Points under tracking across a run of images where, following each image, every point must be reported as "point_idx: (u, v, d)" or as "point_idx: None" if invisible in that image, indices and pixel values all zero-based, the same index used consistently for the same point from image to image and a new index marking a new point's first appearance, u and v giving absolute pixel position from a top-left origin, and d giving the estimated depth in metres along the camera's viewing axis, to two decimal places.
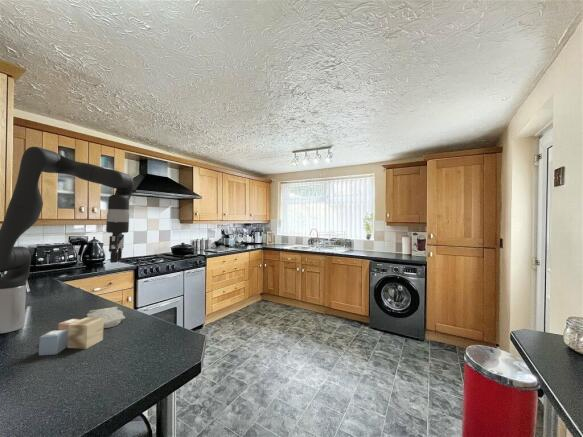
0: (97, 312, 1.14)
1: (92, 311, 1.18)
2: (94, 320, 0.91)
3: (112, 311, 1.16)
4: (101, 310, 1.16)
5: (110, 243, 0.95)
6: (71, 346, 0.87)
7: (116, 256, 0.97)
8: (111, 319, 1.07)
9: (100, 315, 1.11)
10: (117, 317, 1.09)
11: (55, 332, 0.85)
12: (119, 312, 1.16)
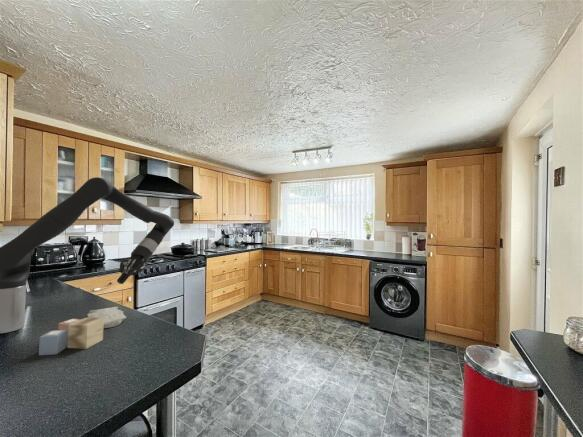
0: (98, 312, 1.14)
1: (92, 311, 1.18)
2: (94, 320, 0.91)
3: (113, 311, 1.16)
4: (102, 310, 1.16)
5: (137, 268, 1.06)
6: (71, 346, 0.87)
7: None
8: (112, 319, 1.07)
9: (101, 315, 1.11)
10: (118, 317, 1.09)
11: (55, 332, 0.85)
12: (120, 312, 1.17)
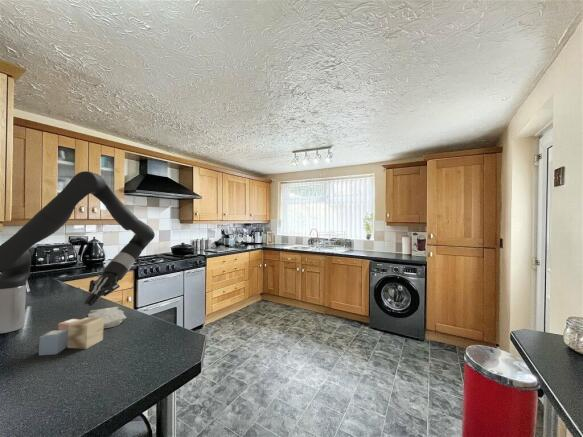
0: (98, 312, 1.14)
1: (93, 311, 1.18)
2: (94, 320, 0.91)
3: (113, 311, 1.16)
4: (102, 310, 1.16)
5: (108, 288, 0.94)
6: (71, 346, 0.87)
7: None
8: (112, 319, 1.07)
9: (101, 315, 1.11)
10: (118, 317, 1.09)
11: (55, 332, 0.85)
12: (120, 312, 1.17)
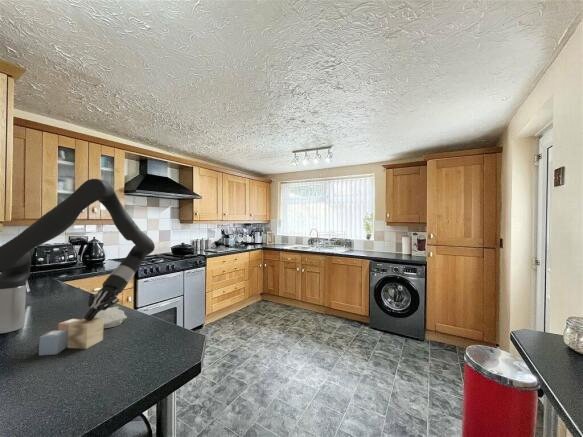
0: (98, 312, 1.14)
1: None
2: (94, 320, 0.91)
3: (113, 311, 1.16)
4: (102, 310, 1.16)
5: (108, 302, 0.93)
6: (71, 346, 0.87)
7: None
8: (113, 319, 1.07)
9: (102, 315, 1.11)
10: (119, 317, 1.09)
11: (55, 332, 0.85)
12: (121, 312, 1.17)
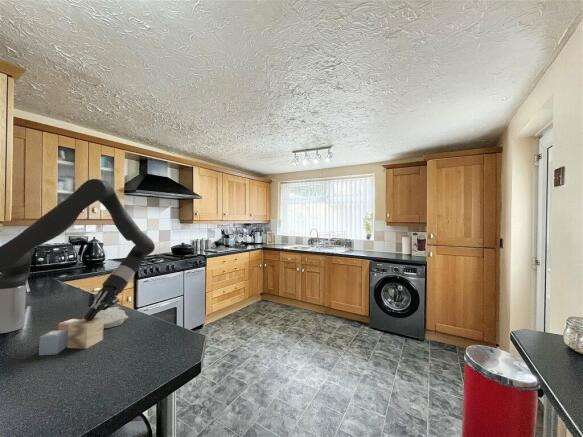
0: (99, 312, 1.15)
1: None
2: (94, 320, 0.91)
3: (114, 311, 1.16)
4: None
5: (108, 302, 0.93)
6: (71, 346, 0.87)
7: None
8: (114, 319, 1.07)
9: (103, 315, 1.11)
10: (120, 317, 1.10)
11: (55, 332, 0.85)
12: (121, 312, 1.17)
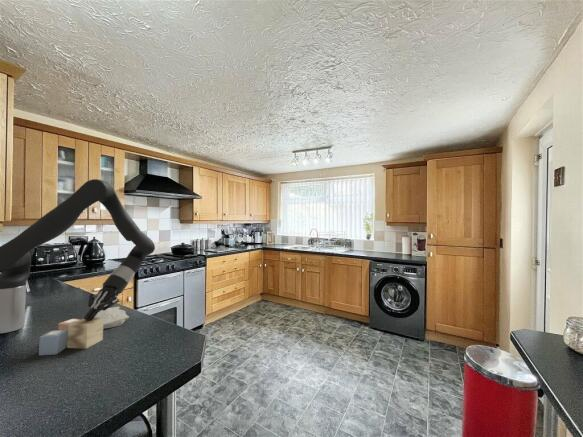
0: (100, 312, 1.15)
1: None
2: (94, 320, 0.91)
3: (115, 311, 1.16)
4: None
5: (108, 303, 0.93)
6: (71, 346, 0.87)
7: None
8: (115, 319, 1.07)
9: (104, 315, 1.11)
10: (121, 317, 1.10)
11: (55, 332, 0.85)
12: (122, 312, 1.17)
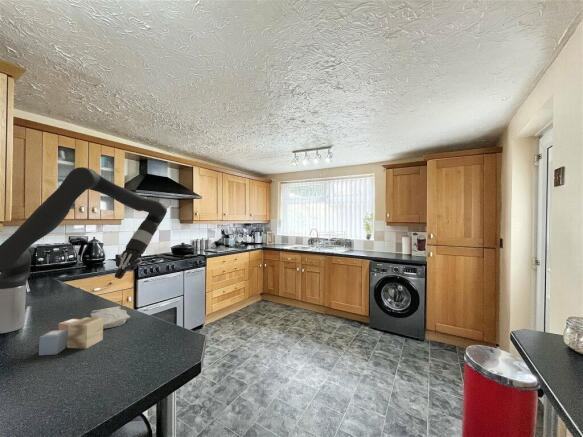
0: (101, 312, 1.15)
1: (95, 311, 1.18)
2: (94, 320, 0.91)
3: (116, 311, 1.16)
4: (105, 310, 1.17)
5: (134, 265, 1.06)
6: (71, 346, 0.87)
7: None
8: (117, 318, 1.08)
9: (105, 315, 1.11)
10: (122, 316, 1.10)
11: (55, 332, 0.85)
12: (123, 311, 1.17)
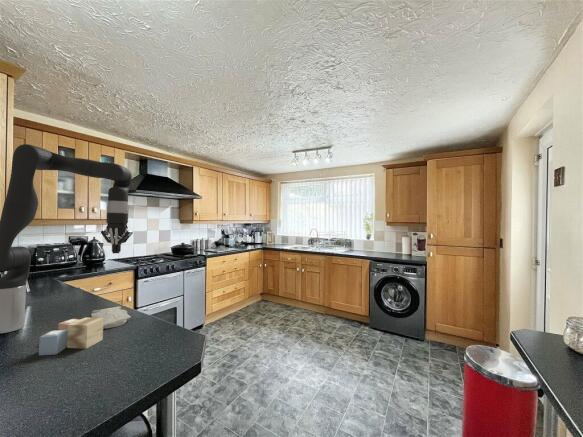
0: (101, 312, 1.15)
1: (96, 311, 1.18)
2: (94, 320, 0.91)
3: (117, 311, 1.16)
4: (105, 310, 1.17)
5: (125, 237, 1.04)
6: (71, 346, 0.87)
7: None
8: (117, 318, 1.08)
9: (105, 315, 1.11)
10: (123, 316, 1.10)
11: (55, 332, 0.85)
12: (124, 312, 1.17)
